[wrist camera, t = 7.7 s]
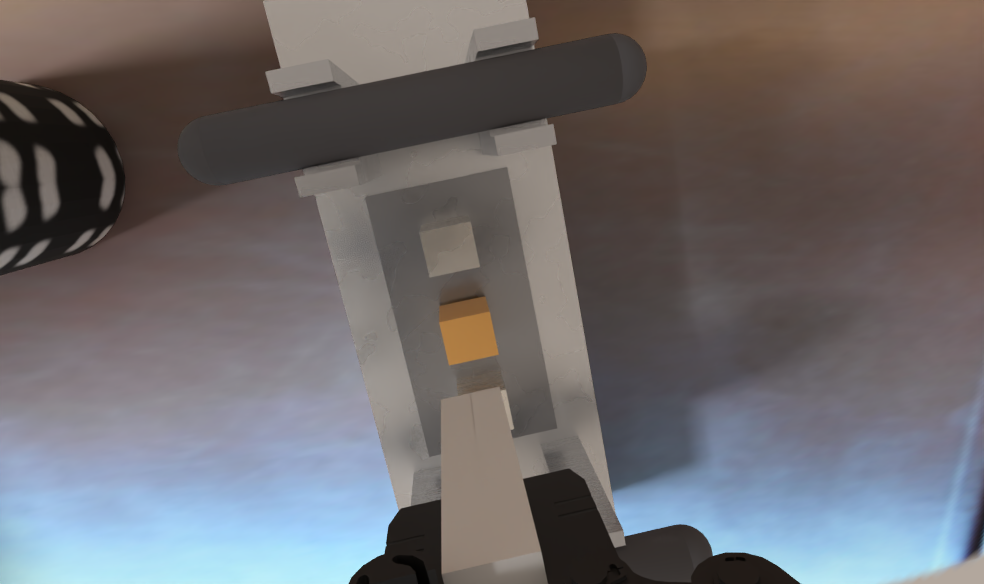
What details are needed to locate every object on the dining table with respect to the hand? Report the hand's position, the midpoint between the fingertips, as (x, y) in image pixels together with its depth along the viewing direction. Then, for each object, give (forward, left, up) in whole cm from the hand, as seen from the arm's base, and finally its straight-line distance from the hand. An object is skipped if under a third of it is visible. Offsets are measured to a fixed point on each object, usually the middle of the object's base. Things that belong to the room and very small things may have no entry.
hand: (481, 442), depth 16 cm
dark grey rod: (0, +8, -6) cm, 10 cm away
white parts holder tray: (0, 0, -18) cm, 18 cm away
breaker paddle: (0, 0, -12) cm, 12 cm away
